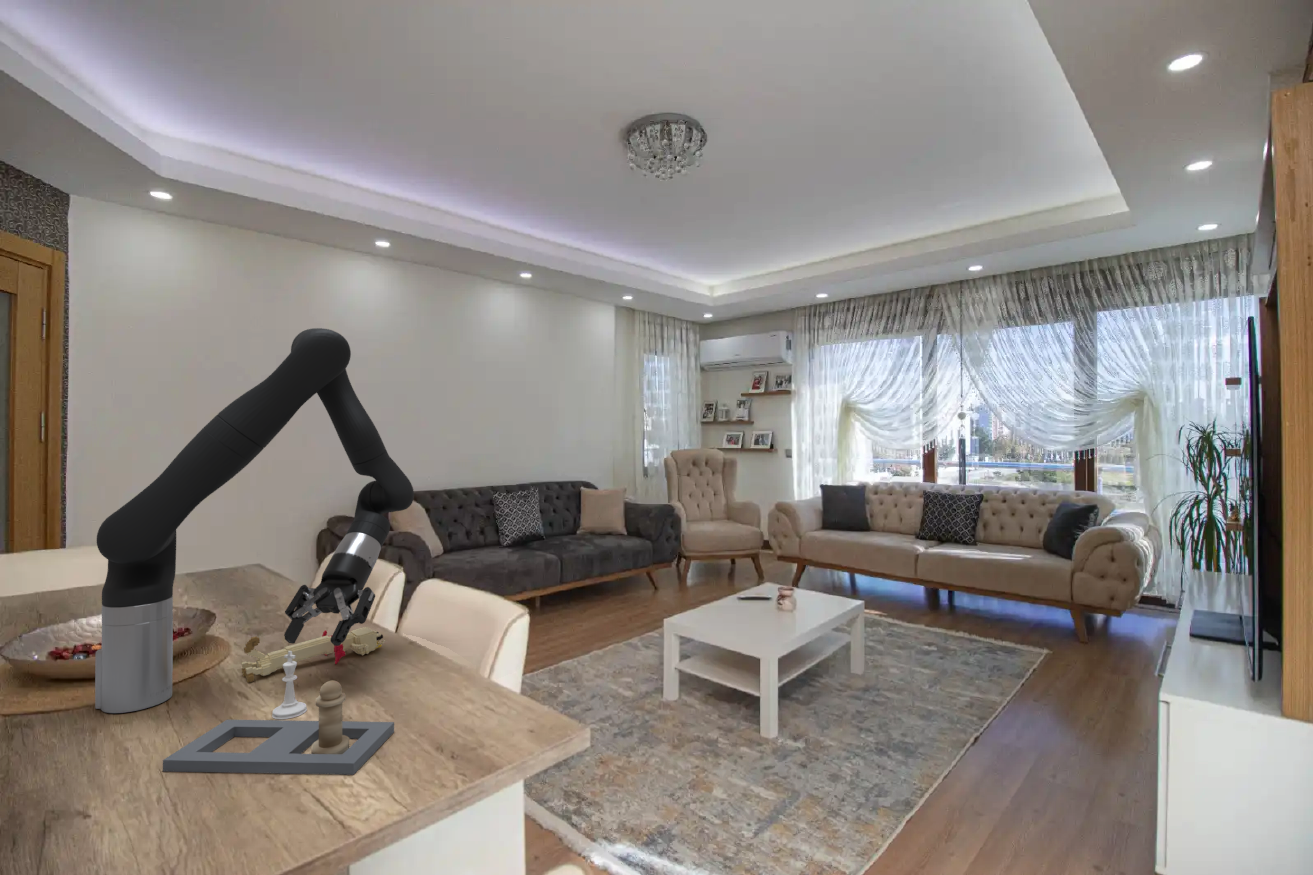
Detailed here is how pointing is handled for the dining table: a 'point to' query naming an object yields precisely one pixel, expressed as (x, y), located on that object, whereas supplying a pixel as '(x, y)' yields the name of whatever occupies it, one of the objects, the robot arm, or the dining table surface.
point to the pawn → (330, 721)
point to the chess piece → (289, 693)
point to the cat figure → (308, 651)
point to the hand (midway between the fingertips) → (311, 642)
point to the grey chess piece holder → (279, 748)
